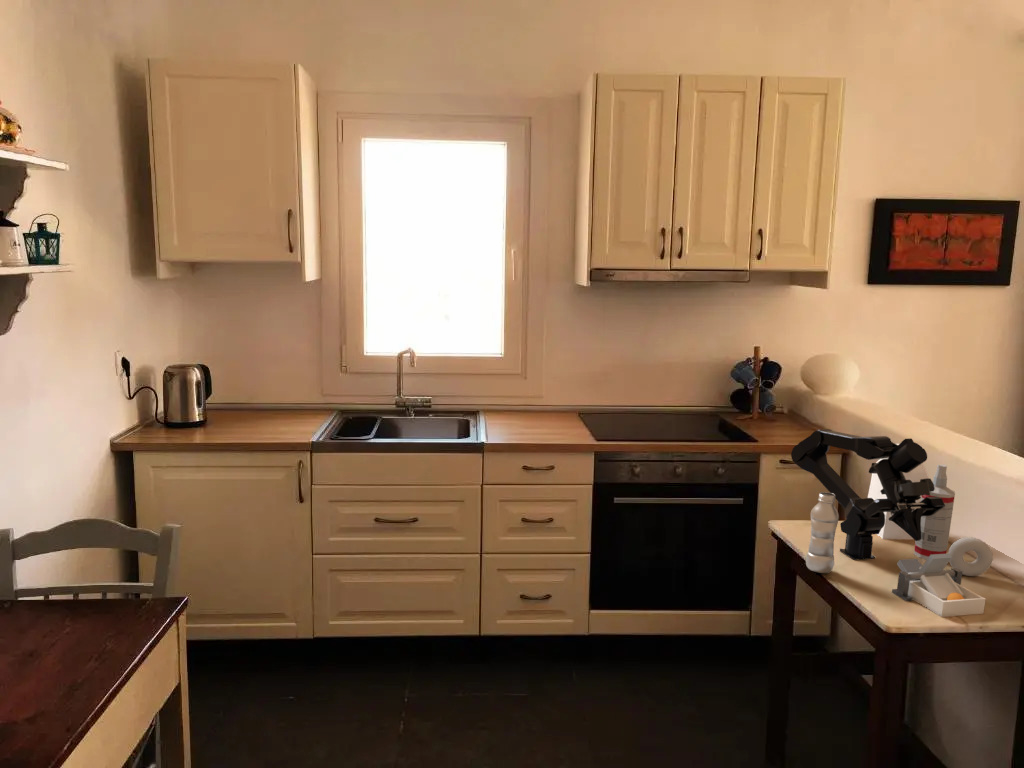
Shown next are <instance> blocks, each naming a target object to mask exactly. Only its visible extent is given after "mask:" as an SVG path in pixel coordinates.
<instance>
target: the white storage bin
mask: <svg viewBox="0 0 1024 768" xmlns="http://www.w3.org/2000/svg"><path fill="white" fill-rule="evenodd" d="M955 583H956V582H955ZM956 585H957V586H958V587H959V589H960V590H961V591H962V593H963V594H964V595H963V598H964V599H960V600H947V599H940V598H938V597H936V596H935V595H933V594H931V593H930V592H929V591H928V590H927V588H926V587H925V585H924V584H923V583H922V581H921V580H917V581H910V582H909V590H908V596H910V597H912V601H914V600H915V602H916V601H917V602H916V603H918V602H919V603H920V604H919V603H918V604H919V605H921V604H922V605H921V606H923V605H924V606H925V607H924V606H923V607H924V608H926V607H927V608H926V609H928V610H929V609H930V611H931V612H933V613H935V614H936V615H938V616H939V617H941V618H945V617H946V618H947V617H956V616H965V615H966V616H968V615H979V614H981V615H982V614H984V611H985V606H986V604H985V603H986V598H985V597H983V596H981V595H980V594H978V593H976V592H974V591H973V590H971V589H968V588H966V587H965V586H963V585H962V584H961V585H959V584H958V583H956Z"/></svg>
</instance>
